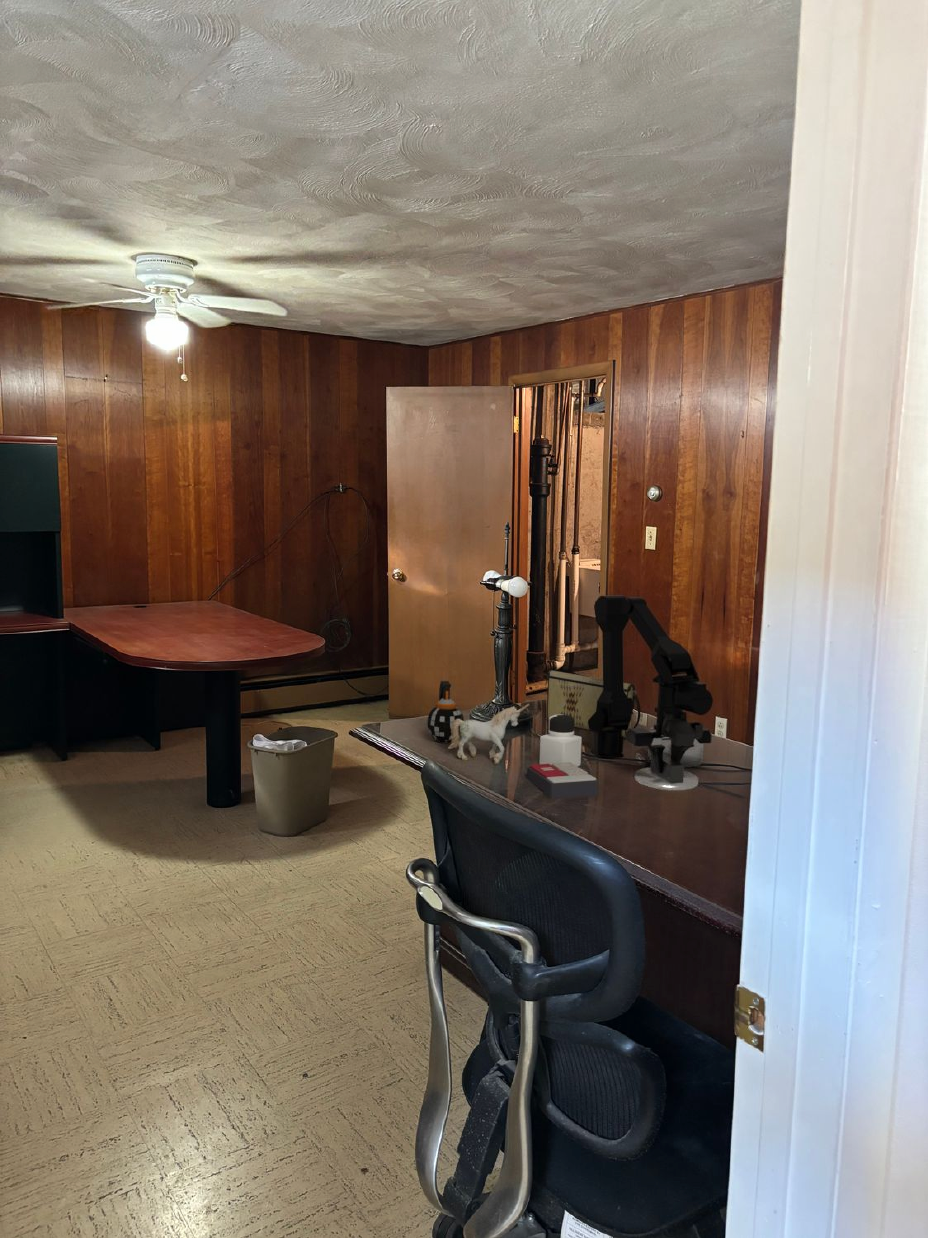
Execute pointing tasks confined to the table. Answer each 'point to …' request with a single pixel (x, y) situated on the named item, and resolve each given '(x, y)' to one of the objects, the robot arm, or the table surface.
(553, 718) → the medicine bottle
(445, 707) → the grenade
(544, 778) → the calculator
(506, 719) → the unicorn figurine
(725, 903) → the table surface
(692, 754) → the grey cylinder drum
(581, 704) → the clutch purse
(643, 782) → the lid
